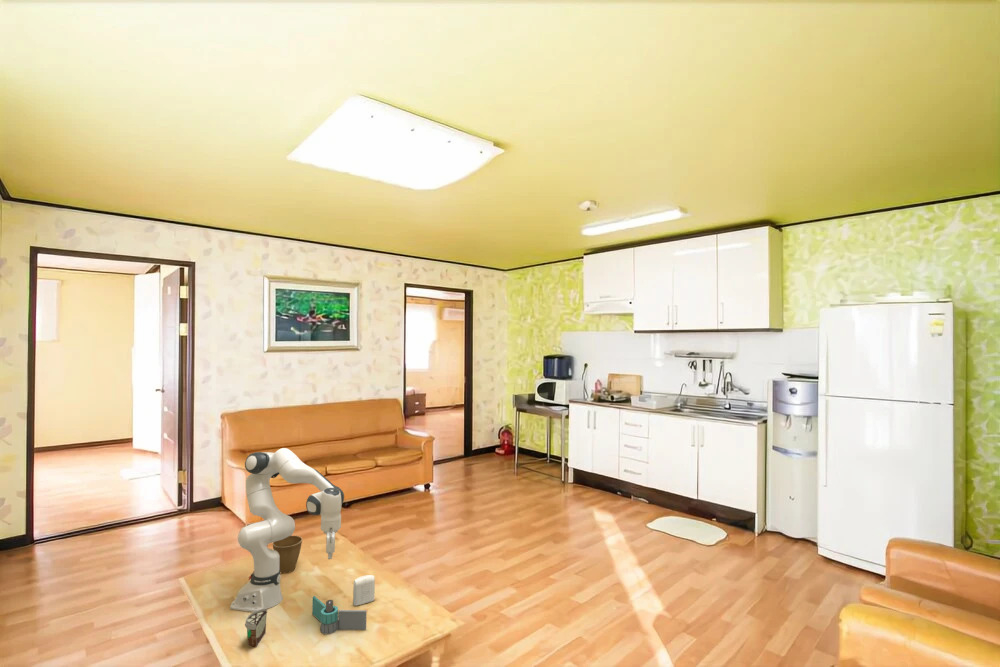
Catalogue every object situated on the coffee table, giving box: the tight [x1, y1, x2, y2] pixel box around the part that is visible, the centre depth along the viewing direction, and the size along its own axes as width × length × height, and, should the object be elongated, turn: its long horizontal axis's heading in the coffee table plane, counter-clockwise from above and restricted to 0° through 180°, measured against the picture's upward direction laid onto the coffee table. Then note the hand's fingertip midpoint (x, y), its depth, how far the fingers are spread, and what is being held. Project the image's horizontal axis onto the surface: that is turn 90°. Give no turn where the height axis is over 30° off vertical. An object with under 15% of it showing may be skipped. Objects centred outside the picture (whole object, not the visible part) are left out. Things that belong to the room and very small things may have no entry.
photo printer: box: [352, 574, 376, 607], centre depth 232 cm, size 10×4×12 cm, turn 123°
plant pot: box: [272, 535, 303, 574], centre depth 263 cm, size 15×15×16 cm
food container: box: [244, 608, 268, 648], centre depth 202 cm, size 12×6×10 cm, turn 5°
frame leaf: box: [320, 609, 367, 635], centre depth 210 cm, size 20×7×8 cm, turn 90°
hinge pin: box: [325, 599, 334, 613], centre depth 210 cm, size 3×3×12 cm
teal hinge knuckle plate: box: [311, 595, 339, 624], centre depth 214 cm, size 20×7×8 cm, turn 45°
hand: (330, 553), depth 223 cm, fingers open, 8 cm apart
